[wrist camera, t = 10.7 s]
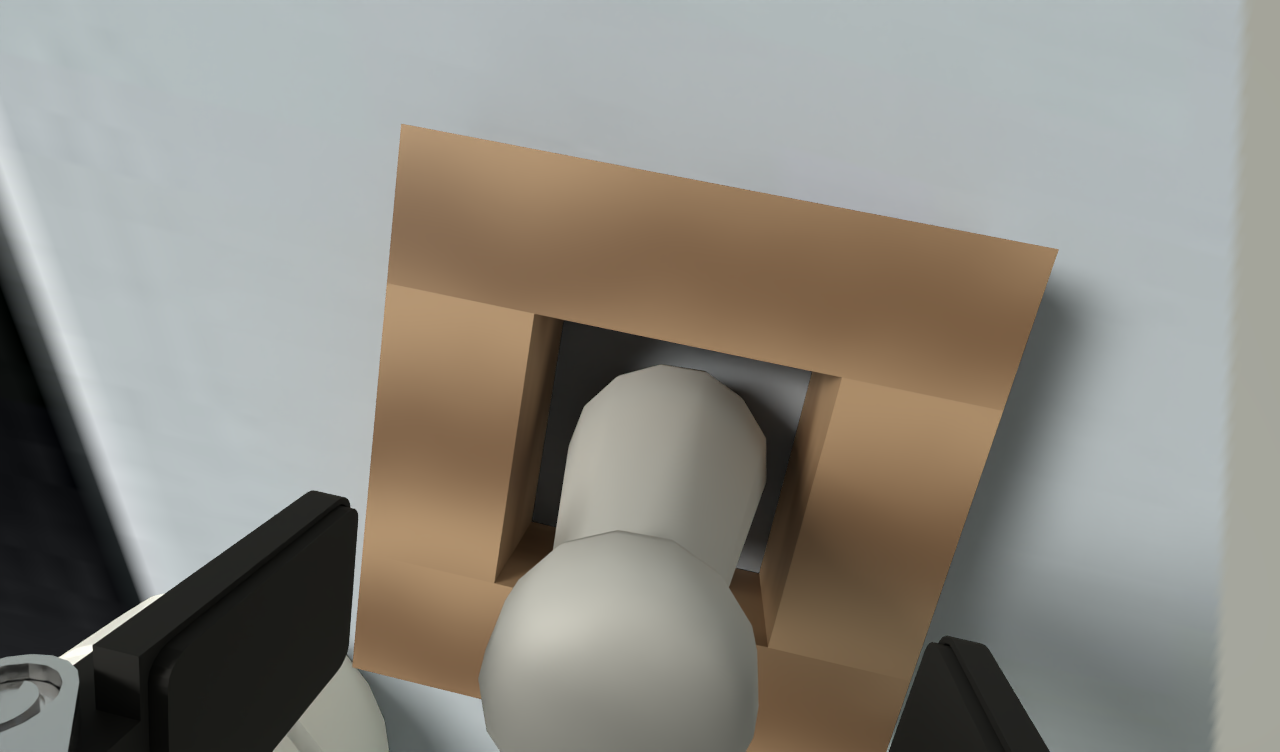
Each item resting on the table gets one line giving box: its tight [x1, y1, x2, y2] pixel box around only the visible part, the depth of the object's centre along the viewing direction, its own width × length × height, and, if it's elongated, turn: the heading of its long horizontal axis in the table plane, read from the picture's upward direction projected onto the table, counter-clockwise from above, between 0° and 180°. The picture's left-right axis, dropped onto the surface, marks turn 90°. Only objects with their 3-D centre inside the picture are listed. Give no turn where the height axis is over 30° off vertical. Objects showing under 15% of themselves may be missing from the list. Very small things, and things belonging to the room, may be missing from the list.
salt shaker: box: [478, 364, 766, 752], centre depth 15 cm, size 6×6×13 cm
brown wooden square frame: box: [352, 124, 1059, 752], centre depth 20 cm, size 16×16×4 cm
